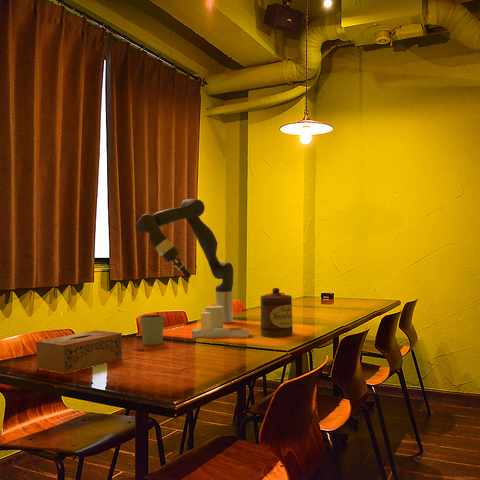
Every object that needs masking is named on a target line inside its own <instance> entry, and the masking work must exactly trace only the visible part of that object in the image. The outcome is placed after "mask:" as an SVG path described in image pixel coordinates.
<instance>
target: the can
mask: <svg viewBox="0 0 480 480" xmlns="http://www.w3.org/2000/svg"><path fill="white" fill-rule="evenodd" d="M204 309H205V310H204V312H211V328H224V323H223V306H216V304H214V305H207V306H204Z"/></svg>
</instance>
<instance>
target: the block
mask: <svg viewBox="0 0 480 480" xmlns="http://www.w3.org/2000/svg"><path fill="white" fill-rule="evenodd" d="M200 328H201V331H211V312H205V311H202V312H201V313H200Z"/></svg>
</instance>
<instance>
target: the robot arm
mask: <svg viewBox="0 0 480 480" xmlns="http://www.w3.org/2000/svg"><path fill="white" fill-rule="evenodd" d="M204 212H205V204H204V202H203V201H202V200H200V199H198V198H186V199H183V201H182V202H181V204H180V206H179V207H174V208H168V209H163V210H161V211H157V212H155V213H153V214H152V215H151V214H149V213H144V214H142V215H141V216H140V218H139V219H138V220H137V221H136V223H135V230H136V231H137V233H139V234H143V235H144V234H149V237H148V241H149V242H150V243H151V245H152V246H153V247H154V248H155V249H156V251H157V253H158V255H160V257H162V258H163V260H164V261H165V262H166V264H169V263H170V262H173V266H174V267H175V268H176V269H177V270H178V271H180V272H181V273H182V274H183V275H184V276H185V278H186V279H190V278H191V277H192V275H191V274H190V273H191V272H190V271H188V270H187V267H186V266H185V264H184V263H183V261H182V260H181V259H180V258H178V256H179V255H180V251H179V250H178V249H177V247H176V246H175V245H174V244H173V243H172V241H170V240H169V239H168V238H167V237H166V236H165V234H164V233H163V232H162V230H161V227H163V226H166V225H169V224H172V223H175V222H178V221H180V220H184V219H185V220H186V221H187V223H188V224H189V226H190V227H191V229H192V232H193V233H194V236H195V237H196V239H197V241H198V244H199V246H200V248H201V250H202V251H203V254H204V256H205V258H206V261H207V264H208V266H209V269H210V271H211V275H212V276H213V277H214V278H215V279H217V280H222V281H221V283H220V284H218V285H216V286H215V305H216V306H223V324H230V323H231V324H232V323H233V319H234V317H233V315H234V313H233V311H234V310H233V286H234V266H233V264H232V263H231V262H220V260H219V258H218V257H217V250H218V240H217V239H216V236H215V234H214V232H213V230H212V229H211V228H210V227H209V226H208V225H207V224H205V223H204V222H203V220H202V219H201V218H200V216H202V215H203V213H204Z"/></svg>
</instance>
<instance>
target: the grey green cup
mask: <svg viewBox="0 0 480 480" xmlns="http://www.w3.org/2000/svg"><path fill="white" fill-rule="evenodd" d="M139 318H140V319H139V320H140V327H141V333H142V334H141V338H142V344H143V345H145V346H156V345H158V346H159V345H161V344H163V343H164V336H163V335H164V334H163V332H164V314H157V313H156V314H146V315H145V314H144V315H141V316H139Z"/></svg>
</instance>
